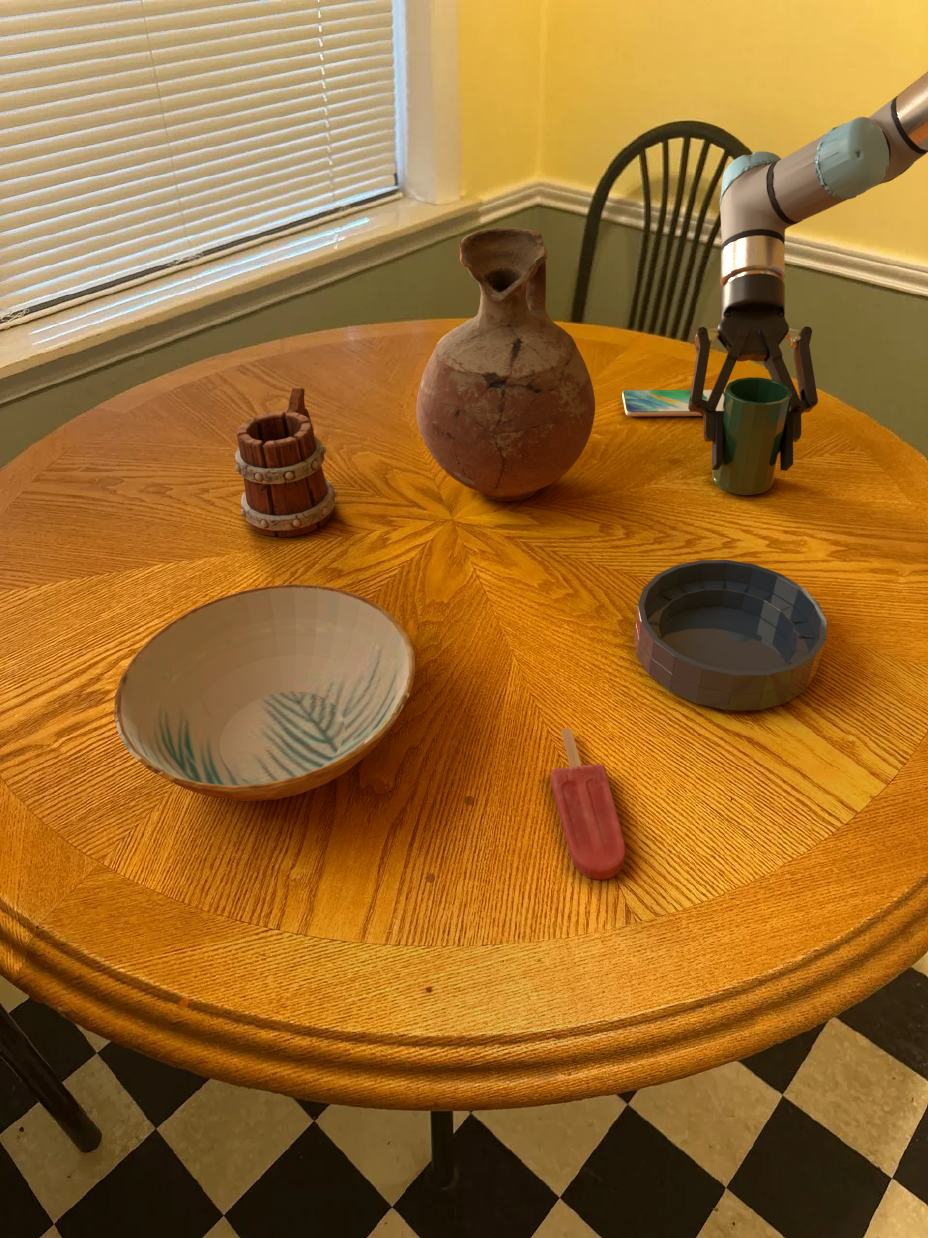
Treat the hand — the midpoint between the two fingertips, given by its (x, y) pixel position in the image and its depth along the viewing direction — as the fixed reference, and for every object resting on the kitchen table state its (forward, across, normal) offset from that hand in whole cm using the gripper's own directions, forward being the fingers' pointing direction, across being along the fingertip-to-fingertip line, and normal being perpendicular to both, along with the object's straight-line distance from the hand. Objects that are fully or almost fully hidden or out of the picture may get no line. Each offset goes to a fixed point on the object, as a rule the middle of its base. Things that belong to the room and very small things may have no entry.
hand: (751, 466), depth 104 cm
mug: (+6, +56, 0) cm, 56 cm away
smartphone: (-15, +6, -20) cm, 26 cm away
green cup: (0, 0, -5) cm, 5 cm away
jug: (+1, +30, -5) cm, 30 cm away
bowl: (+33, +48, +27) cm, 64 cm away
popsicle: (+37, +21, +31) cm, 53 cm away
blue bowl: (+24, +7, +18) cm, 30 cm away
